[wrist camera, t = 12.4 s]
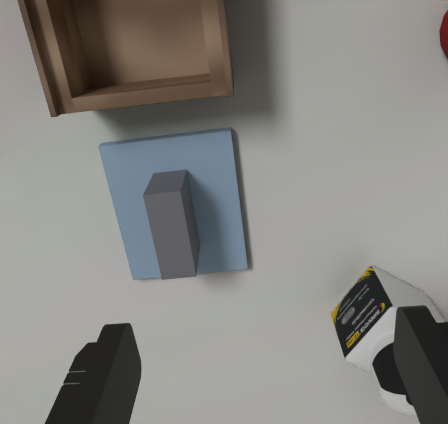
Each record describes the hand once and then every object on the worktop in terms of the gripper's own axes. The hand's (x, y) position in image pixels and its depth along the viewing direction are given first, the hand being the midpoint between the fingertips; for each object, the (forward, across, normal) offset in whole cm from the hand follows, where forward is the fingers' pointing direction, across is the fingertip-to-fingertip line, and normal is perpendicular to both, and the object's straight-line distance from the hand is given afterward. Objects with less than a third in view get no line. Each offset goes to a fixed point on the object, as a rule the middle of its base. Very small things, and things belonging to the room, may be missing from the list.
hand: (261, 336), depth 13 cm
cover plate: (+27, +7, +8) cm, 29 cm away
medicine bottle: (+26, -12, +21) cm, 36 cm away
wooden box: (+27, +8, -10) cm, 30 cm away
